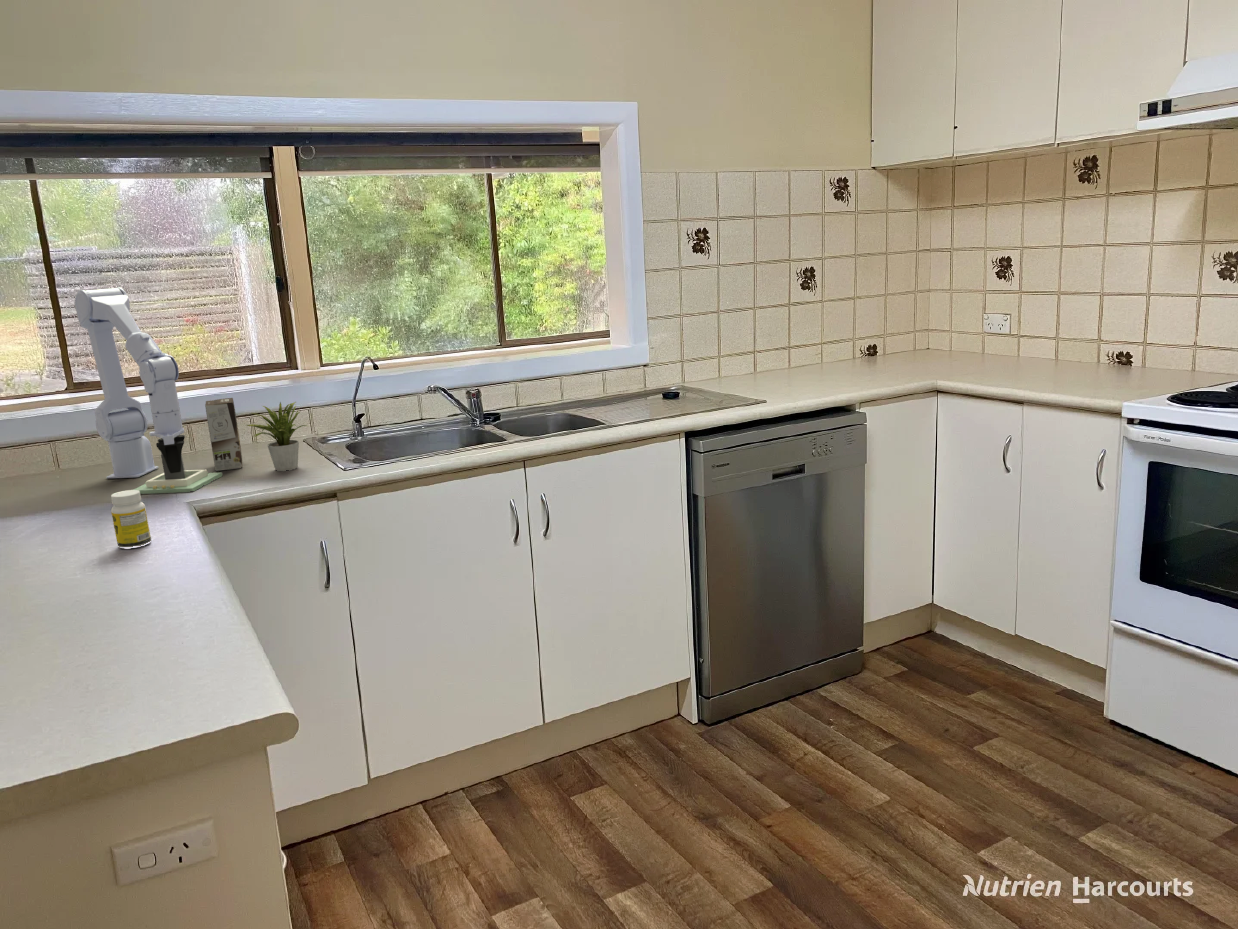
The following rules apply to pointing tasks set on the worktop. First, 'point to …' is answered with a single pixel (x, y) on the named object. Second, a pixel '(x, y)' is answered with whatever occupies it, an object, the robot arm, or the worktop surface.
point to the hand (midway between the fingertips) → (175, 470)
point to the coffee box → (224, 434)
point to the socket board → (178, 482)
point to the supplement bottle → (130, 519)
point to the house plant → (281, 438)
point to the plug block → (173, 475)
